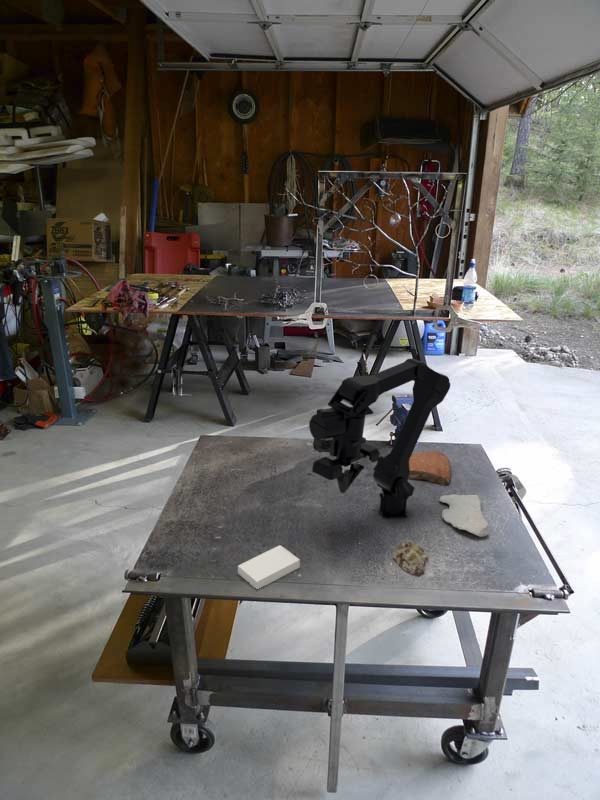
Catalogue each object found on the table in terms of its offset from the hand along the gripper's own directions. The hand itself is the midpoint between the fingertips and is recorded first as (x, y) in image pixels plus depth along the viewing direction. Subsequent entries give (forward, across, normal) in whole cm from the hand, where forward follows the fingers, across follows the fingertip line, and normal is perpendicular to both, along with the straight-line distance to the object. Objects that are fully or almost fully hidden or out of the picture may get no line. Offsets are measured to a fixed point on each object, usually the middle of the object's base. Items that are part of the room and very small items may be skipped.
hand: (342, 492), depth 144 cm
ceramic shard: (+8, -43, -3) cm, 44 cm away
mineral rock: (+11, -4, +19) cm, 22 cm away
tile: (+12, +16, -1) cm, 20 cm away
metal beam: (+14, +19, -23) cm, 33 cm away
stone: (+9, -29, +19) cm, 36 cm away
